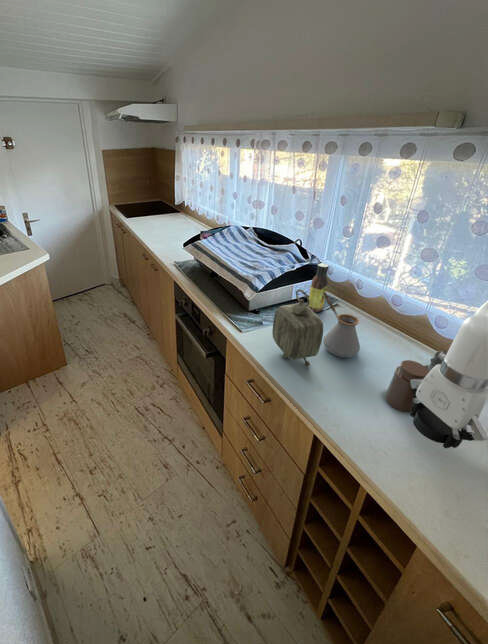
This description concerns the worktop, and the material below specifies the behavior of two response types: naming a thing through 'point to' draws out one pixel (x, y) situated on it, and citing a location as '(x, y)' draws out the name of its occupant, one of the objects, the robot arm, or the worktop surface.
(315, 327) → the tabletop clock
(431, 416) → the jar lid
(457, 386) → the robot arm
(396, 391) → the jar
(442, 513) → the worktop surface
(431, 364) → the grey stepped cylinder
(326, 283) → the sauce bottle
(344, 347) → the coffee pot
